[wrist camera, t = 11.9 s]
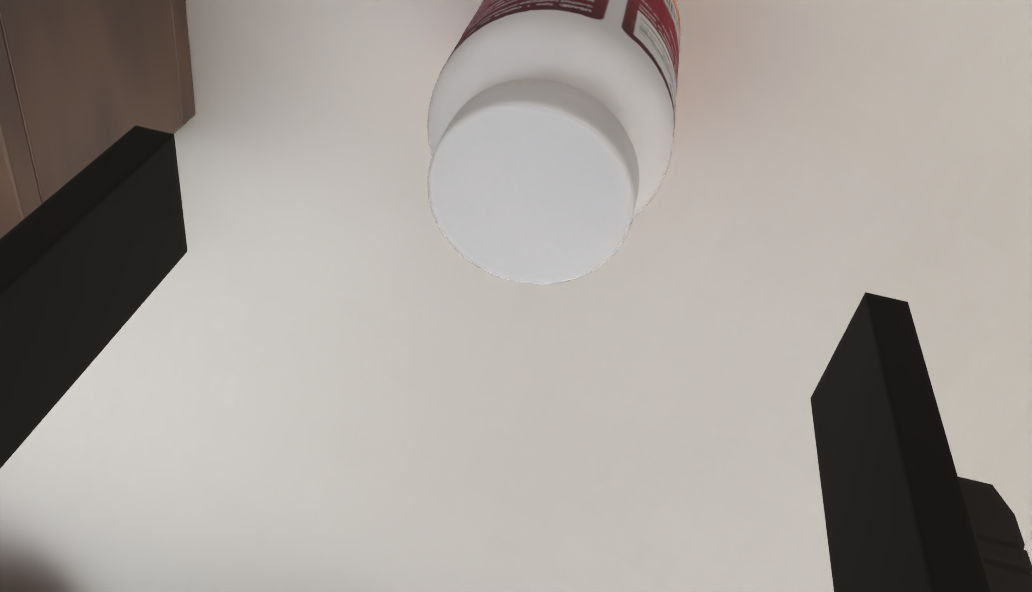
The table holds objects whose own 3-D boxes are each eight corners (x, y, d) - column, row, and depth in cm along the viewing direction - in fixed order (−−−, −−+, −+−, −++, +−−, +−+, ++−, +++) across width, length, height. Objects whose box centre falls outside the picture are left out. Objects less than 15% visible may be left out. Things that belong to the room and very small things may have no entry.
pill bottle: (460, 63, 29) (354, 240, 20) (537, -115, 25) (446, 9, 17) (623, 145, 30) (587, 349, 21) (720, -17, 26) (725, 151, 17)
